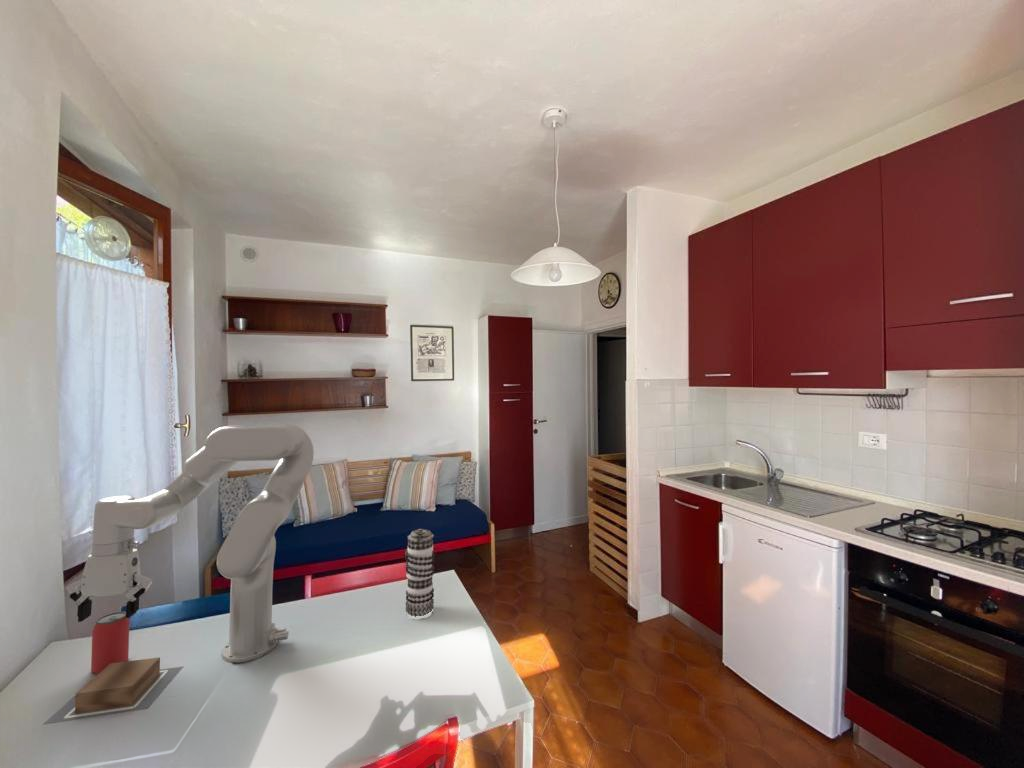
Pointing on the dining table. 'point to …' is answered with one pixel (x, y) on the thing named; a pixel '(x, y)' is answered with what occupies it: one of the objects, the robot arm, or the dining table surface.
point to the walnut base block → (117, 685)
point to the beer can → (110, 641)
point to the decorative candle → (420, 572)
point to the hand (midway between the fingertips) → (108, 617)
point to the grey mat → (141, 703)
